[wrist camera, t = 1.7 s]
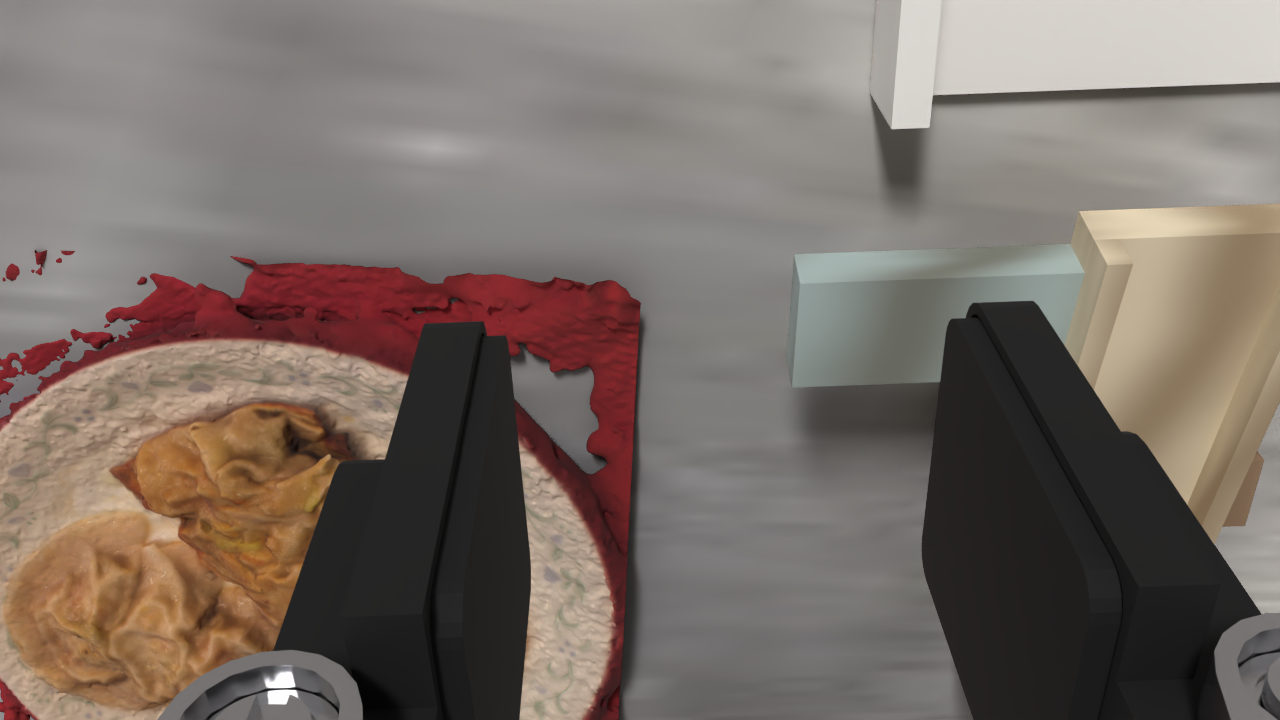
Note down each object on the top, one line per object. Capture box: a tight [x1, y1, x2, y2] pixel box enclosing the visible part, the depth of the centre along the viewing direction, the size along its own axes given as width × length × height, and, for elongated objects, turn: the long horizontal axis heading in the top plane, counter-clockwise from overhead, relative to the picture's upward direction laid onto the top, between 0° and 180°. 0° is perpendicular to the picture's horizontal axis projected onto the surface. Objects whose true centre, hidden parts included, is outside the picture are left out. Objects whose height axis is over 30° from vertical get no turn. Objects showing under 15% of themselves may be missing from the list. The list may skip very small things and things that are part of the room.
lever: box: [787, 204, 1280, 543], centre depth 34 cm, size 13×19×4 cm, turn 2°
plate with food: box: [0, 250, 641, 720], centre depth 42 cm, size 25×26×4 cm
